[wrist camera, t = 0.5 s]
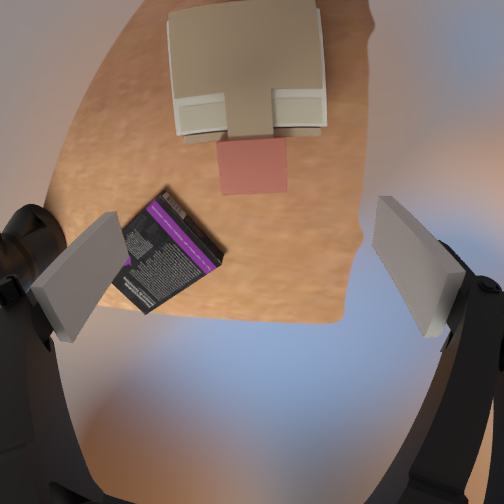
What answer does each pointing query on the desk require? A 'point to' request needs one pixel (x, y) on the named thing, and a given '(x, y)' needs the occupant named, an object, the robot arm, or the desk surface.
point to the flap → (247, 78)
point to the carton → (283, 109)
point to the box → (163, 254)
